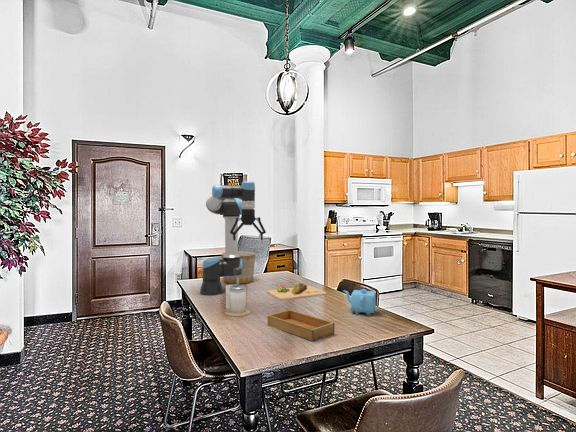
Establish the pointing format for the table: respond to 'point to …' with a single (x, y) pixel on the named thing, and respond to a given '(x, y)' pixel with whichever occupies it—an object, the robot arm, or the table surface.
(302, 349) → the table surface
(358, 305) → the teapot
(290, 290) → the cutting board
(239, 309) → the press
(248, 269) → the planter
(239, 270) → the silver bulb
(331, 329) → the tray
